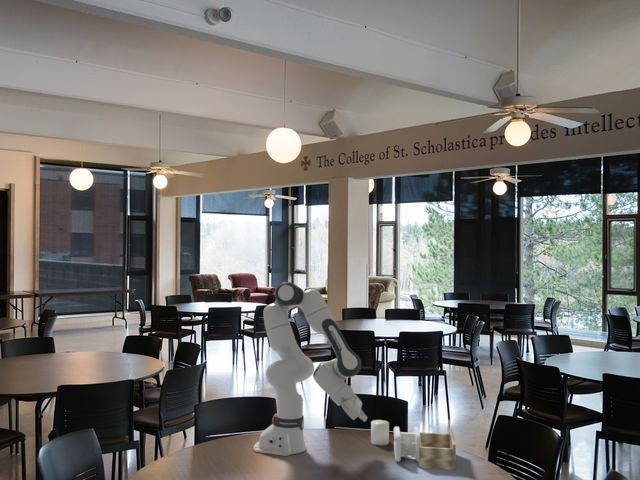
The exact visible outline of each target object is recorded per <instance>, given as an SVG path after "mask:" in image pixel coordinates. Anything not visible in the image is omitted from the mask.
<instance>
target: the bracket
mask: <svg viewBox="0 0 640 480" xmlns="http://www.w3.org/2000/svg"><path fill="white" fill-rule="evenodd" d="M453 431H454V430H453V429H451V428H450V429H449V431H448V433H439V432H438V433H435V432H421V431H419V432H420V436H421V447H419V462H418V468H419V469H420V468H422V469H431V470H432V469H434V470H448V471H456V467H457V466H456V464H457V463H456V458H457V455H456V454H457V453H456V451H457V450H456V449H457V447H456V446H457V444H456V439H455V436H454V432H453Z"/></svg>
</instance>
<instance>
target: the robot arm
mask: <svg viewBox="0 0 640 480" xmlns="http://www.w3.org/2000/svg"><path fill="white" fill-rule="evenodd" d="M274 297H275V298H274V299H275V301H274V302H272V303H269V304H268V305H266V306H265V307H264V309H263V315H262V316H263V322H264V329H265V332H266V336H267V338H268V341H269V342H268V343H269V346H270V349H271V350H272V351H273V352H275V353H276V354H278V356H279V357H280V359H278V360H277V361H274V362H273V363H271V364H269V365H268V366H267V368H266V370H265V376H266V381H267V383H269V385H271V386H272V388H273V389H274V391H275V395H276V405H277V406H276V411H277V413H274V415H273V417H272V420H271V422H272V423H271V424H270V425H269V426H268V427H267V428H266V429H264V430H263V431H262V432H261V434H260V436H259V440H258V441H257V442H256V443H255V444H254V445H253V452H255V453H261V454H268V455H276V456H282V457H287V456H290V455H291V456H292V455H296V454H301V453H304V451H306V449H307V446H306V444H305V443H306V442H305V437H304V428H305V418H304V415H303V413H304V410H303V409H304V399H303V396H302V395H301V394H299V392H298V389H297V383H300V382H304V381H306V380H307V379H309V378H311V377H312V376H313V379H314V381H315V382H316V384H317V385H318V386H319V387H320V388H321V390H322V391H323V392H325V393H326V394H328V396H329V398H330V400H332V401H333V402H334V403H335V404H336V405H337V406H338V407H340V406H341V408H342V409H343V411H344V412H345V413H346V414H347V416H348V417H349V418H350V419H352V421H354V420H356V419H357V418H359V419H360V420H361V421H362V422H363V423H364V422H367V420H368V416H367V415H366V414H365V412H364V411H363V410H362V406H363V403H362V400H361V399H360V398H359V396H357V395H356V393H355V392H354V390H353V388H352V387H351V386H349V385H348V384H347V383H346V382H345V380H346V379H348V378H351V377H355V376H357V375H358V374H359V372H360V371H361V369H362V360H361V358H360V357H359V355H358V354H357V353H356V352H355V351H353V350H352V349H351V347H350V346H349V344H348V342H347V340H346V339H345V337H344V335H343V333H342V331H341V329H340V328H339V326H338V325H337V323H336V320H335V318H334V316H333V314H332V311H331V309H330V307H329V305H328V304H327V302H326V300H325V299H324V297H323V295H322V294H321V293H320V292H319V290H317V289H316V288H308V289H306V290H303V289H302V288H301V287H299V285H296V284H295V283H293V282H291V281H290V282H289V281H284V282H281V283H279V284H278V285H277V286H276V288H275V291H274ZM296 308H299V309H300V310H301V311H302V312H303V315H304V317H305V318H306V319H305V320H306V321H307V323H308V325H309V326H310V328H311V329H312V331H313V332H315V333H317V334H320V335H322V336H323V337H325V338H326V339H327V341H328V342H329V344H330V346H331V348H332V349H333V351H334V353H335V356H336V358H334V359H331V360H329V361H324V362H323V361H322V362H320V363H319V364H318V366H316V368H315V365H314V362H313V360H312V359H311V358H309V357H308V356H307V355H306V354H304V352H303V350H302V349H301V348H300V347H299V345H298V343H297V341H296V338H295V334H294V332H293V328H292V325H291V322H290V317H289V313H290V312H292V311H293V310H295V309H296Z"/></svg>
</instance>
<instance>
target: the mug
mask: <svg viewBox="0 0 640 480" xmlns="http://www.w3.org/2000/svg"><path fill="white" fill-rule="evenodd" d="M389 437H390V422H389V421H387V420H382V419H373V420H372V421H370V443H371V444H372V445H374V446H387V445H389V444H390V438H389Z"/></svg>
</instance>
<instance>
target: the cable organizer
mask: <svg viewBox="0 0 640 480" xmlns="http://www.w3.org/2000/svg"><path fill="white" fill-rule="evenodd" d="M420 432H421V431H420V428H419V426H414V427H413V432H404V431H401V429H400V426H394V428H393V452H394V458H395V459H394V460H395V462H397V463H398V462H401V461H402V459H401V458H404V459H405V456H411V458H415V462H417V463H419V447H421V436H420Z"/></svg>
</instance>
